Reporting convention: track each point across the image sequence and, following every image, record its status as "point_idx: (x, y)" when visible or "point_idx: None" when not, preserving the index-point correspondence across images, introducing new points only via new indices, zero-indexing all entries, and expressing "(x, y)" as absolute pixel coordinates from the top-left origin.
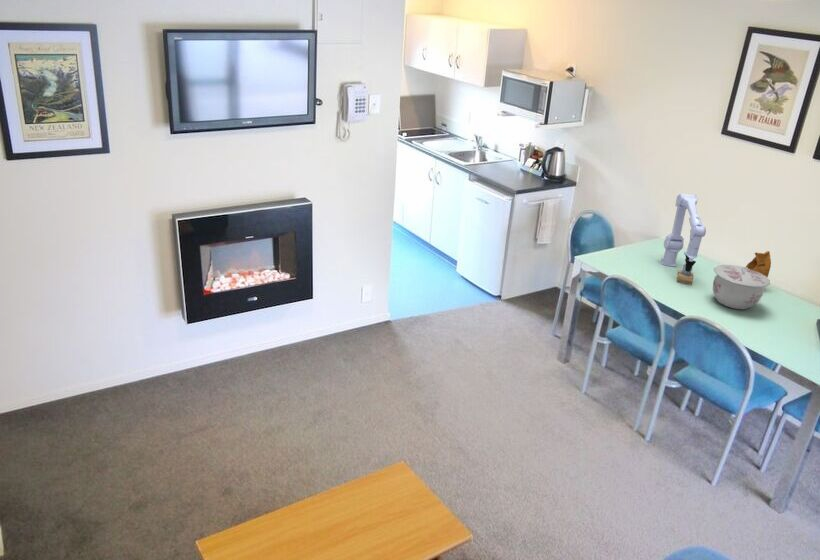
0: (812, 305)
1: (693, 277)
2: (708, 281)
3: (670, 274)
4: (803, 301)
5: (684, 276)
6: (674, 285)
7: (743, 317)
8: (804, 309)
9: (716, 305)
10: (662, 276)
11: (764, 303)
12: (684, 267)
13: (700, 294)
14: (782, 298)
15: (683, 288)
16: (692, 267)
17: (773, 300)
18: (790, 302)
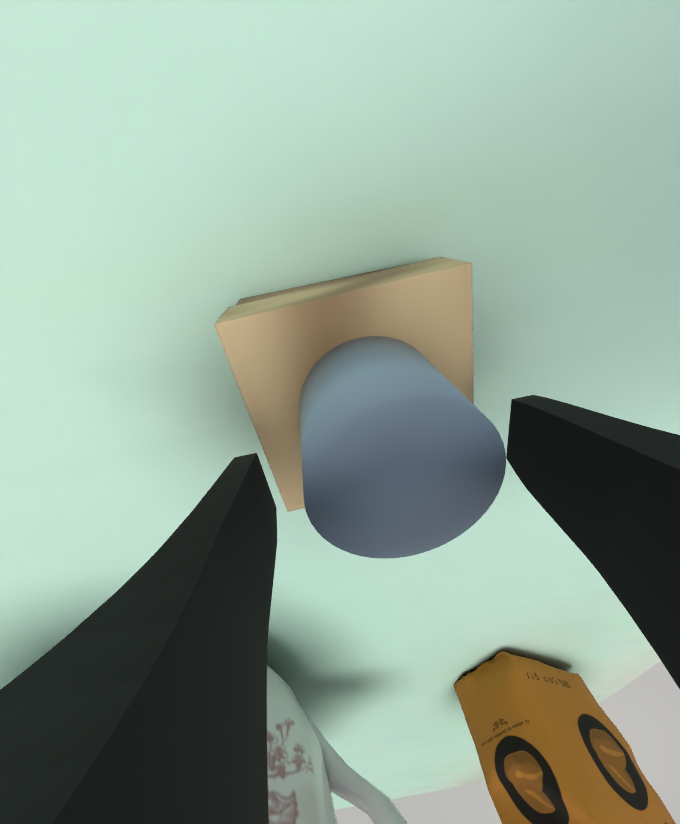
0: (446, 788)
1: (300, 506)
2: (486, 525)
3: (471, 146)
4: (468, 773)
5: (248, 409)
6: (85, 297)
7: None
8: (385, 790)
9: (25, 656)
10: (289, 9)
11: (333, 739)
12: (318, 437)
13: (123, 550)
14: (453, 747)
15: (105, 409)
16: (408, 554)
17: (403, 742)
18: (426, 764)
